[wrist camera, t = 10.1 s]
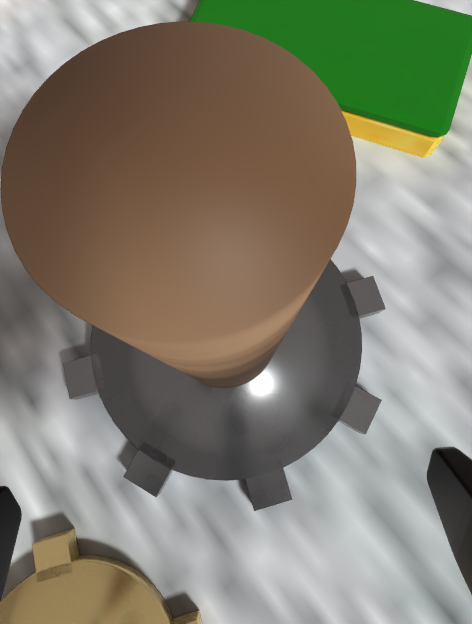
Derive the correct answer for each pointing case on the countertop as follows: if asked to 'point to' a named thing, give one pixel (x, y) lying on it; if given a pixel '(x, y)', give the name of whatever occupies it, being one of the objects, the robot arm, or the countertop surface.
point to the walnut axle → (181, 192)
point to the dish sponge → (369, 59)
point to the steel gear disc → (239, 398)
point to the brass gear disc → (84, 590)
